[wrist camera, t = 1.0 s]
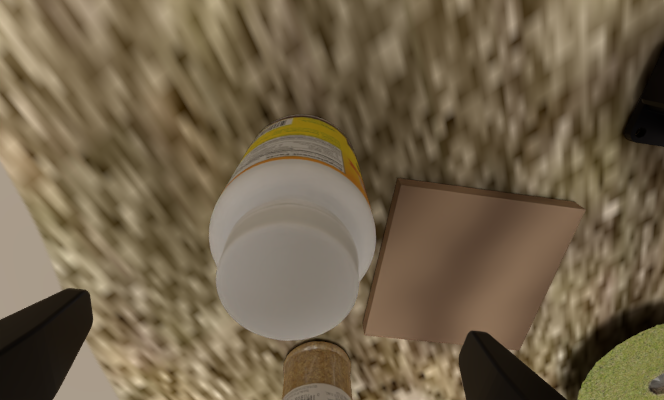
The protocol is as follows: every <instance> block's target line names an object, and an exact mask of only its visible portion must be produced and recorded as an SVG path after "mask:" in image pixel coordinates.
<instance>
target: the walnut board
mask: <svg viewBox="0 0 664 400" xmlns="http://www.w3.org/2000/svg"><path fill="white" fill-rule="evenodd" d="M585 211H586V209H584V208H583V207H581V206H580V205H578V204H577V203H575V202H572V201H565V200H557V199H550V198H542V197H535V196H528V195H520V194H513V193H505V192H498V191H491V190H483V189H476V188H468V187H461V186H454V185H446V184H439V183H431V182H424V181H417V180H409V179H402V178H397V182H396V186H395V191H394V195H393V199H392V203H391V207H390V212H389V216H388V220H387V224H386V228H385V233H384V237H383V241H382V245H381V249H380V254H379V258H378V262H377V266H376V270H375V275H374V279H373V283H372V287H371V291H370V296H369V300H368V304H367V308H366V312H365V316H364V321H363V328H364V335H368V336H378V337H388V338H399V339H409V340H419V341H429V342H439V343H449V344H460V345H463V344H464V341H465V339H466V336H467V334H468V333H469V332H470V331H483V332H487V333H488V334H490V335H491V336H492V337H493V338H495V339H496V340H497V341H498V342H499V343H500V344H502V345H503V346H504V347H505V348H506V349H511V350H520V348H521V346H522V344H523V341H524V339H525V337H526V335H527V333H528V331H529V329H530V327H531V325H532V322H533V320H534V318H535V316H536V314H537V312H538V310H539V308H540V306H541V303H542V301H543V299H544V297H545V295H546V293H547V291H548V289H549V287H550V284H551V282H552V280H553V278H554V276H555V274H556V272H557V270H558V268H559V265H560V263H561V261H562V259H563V257H564V255H565V253H566V251H567V249H568V246H569V244H570V242H571V240H572V238H573V236H574V234H575V232H576V230H577V227H578V225H579V223H580V221H581V219H582V217H583V215H584V213H585Z"/></svg>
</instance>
